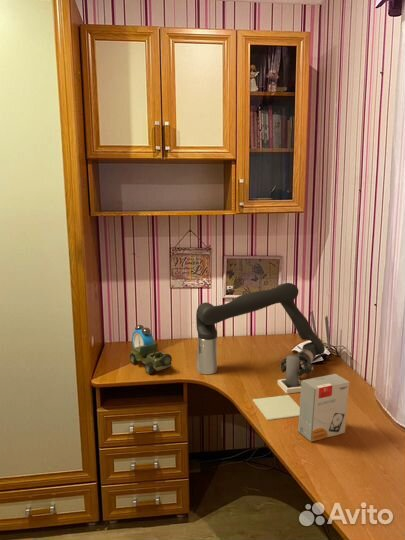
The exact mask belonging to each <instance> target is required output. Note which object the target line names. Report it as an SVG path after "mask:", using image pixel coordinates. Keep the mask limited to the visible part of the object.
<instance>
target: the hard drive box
mask: <svg viewBox="0 0 405 540" xmlns="http://www.w3.org/2000/svg"><path fill="white" fill-rule="evenodd" d="M300 381H301V392H300V397H299V407H300V413H299V416H298V417H299V418H298V432H299V434H301V435H302V436H303V437H305V439H307V440H308V441H309V442H312V443H313V442H315V441H320V440H323V439H327V438H330V437H334V436H335V437H336V436H339V435H341V434H345V433H346V424H347V415H348V401H349V390H350V389H349V388H350V381H349V380H347V379H345V378H344V377H342V376H340V375H338V374H337V373H333V374H328V375H322V376H317V377H312V378H308V379H302V380H300Z"/></svg>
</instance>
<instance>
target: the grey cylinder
mask: <svg viewBox="0 0 405 540" xmlns="http://www.w3.org/2000/svg"><path fill="white" fill-rule="evenodd" d="M295 355H296V354H293V355H292V354H289V355H287V356H286V359H287V361H286V371H285V379H286V384H285V385H286V386H287V388H292V387H299V380H300V376H298V372H299V371H300V370H299V357H298V356H295Z"/></svg>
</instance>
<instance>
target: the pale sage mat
mask: <svg viewBox="0 0 405 540" xmlns="http://www.w3.org/2000/svg"><path fill="white" fill-rule="evenodd" d="M252 402H253V403H254V404H255V406H256V407H257V409H259V411H260V412H261V414H262V415H263V417H264V418H265V419H266V421H273V420H275V421H276V420H281V419H289V418H296V417H299V413H300V405H298V404H297V402H296V401H295V400H294V399H293V398H292V397H291V396H290V395H288V394H286V395H278V396H269V397H261V398H253V399H252Z"/></svg>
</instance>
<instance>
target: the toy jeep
mask: <svg viewBox="0 0 405 540" xmlns="http://www.w3.org/2000/svg"><path fill="white" fill-rule="evenodd" d="M158 344H159V343H158V342H157V343H155V342H154V344H152V345H148V346H146V345H143V346H139V347H136V348H134V347H133V350H131V351H129V353H130V354H129V361H130V363H131V364H132V365H137V364H138V363H139V362H141V363H143V364H144V370H145V372H146V374H147V375H153V373H154V371H161V370H164V369H165V370H168V369H171V367H172V361H173V358H172V355H171V354H169V353H165V352H163V351H162V350H159V351H158V350H157V349H158Z"/></svg>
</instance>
